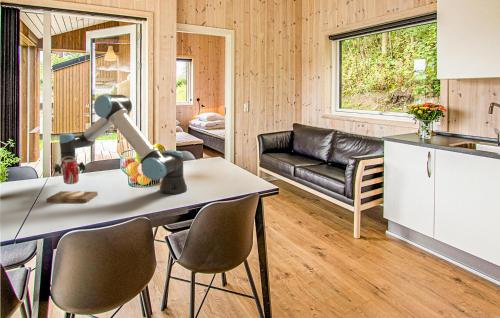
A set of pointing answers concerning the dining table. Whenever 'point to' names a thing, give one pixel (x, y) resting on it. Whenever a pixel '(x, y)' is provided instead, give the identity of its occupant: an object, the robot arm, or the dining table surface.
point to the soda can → (70, 171)
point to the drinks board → (72, 197)
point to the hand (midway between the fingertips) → (70, 171)
